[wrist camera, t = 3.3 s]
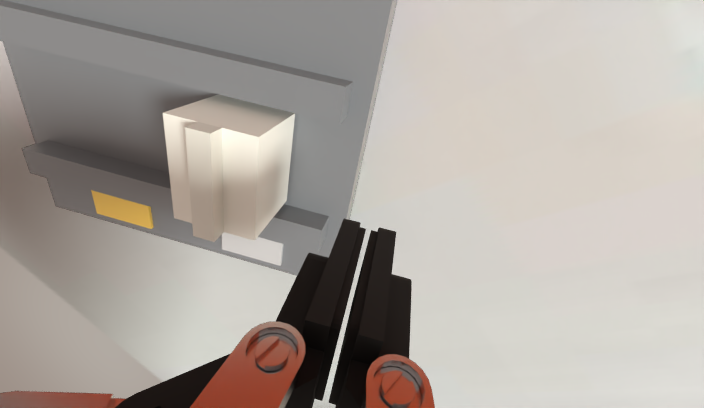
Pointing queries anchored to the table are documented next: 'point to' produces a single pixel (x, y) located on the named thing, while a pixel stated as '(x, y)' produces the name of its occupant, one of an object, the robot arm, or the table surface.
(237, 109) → the switch tab
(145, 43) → the switch panel
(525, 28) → the table surface
